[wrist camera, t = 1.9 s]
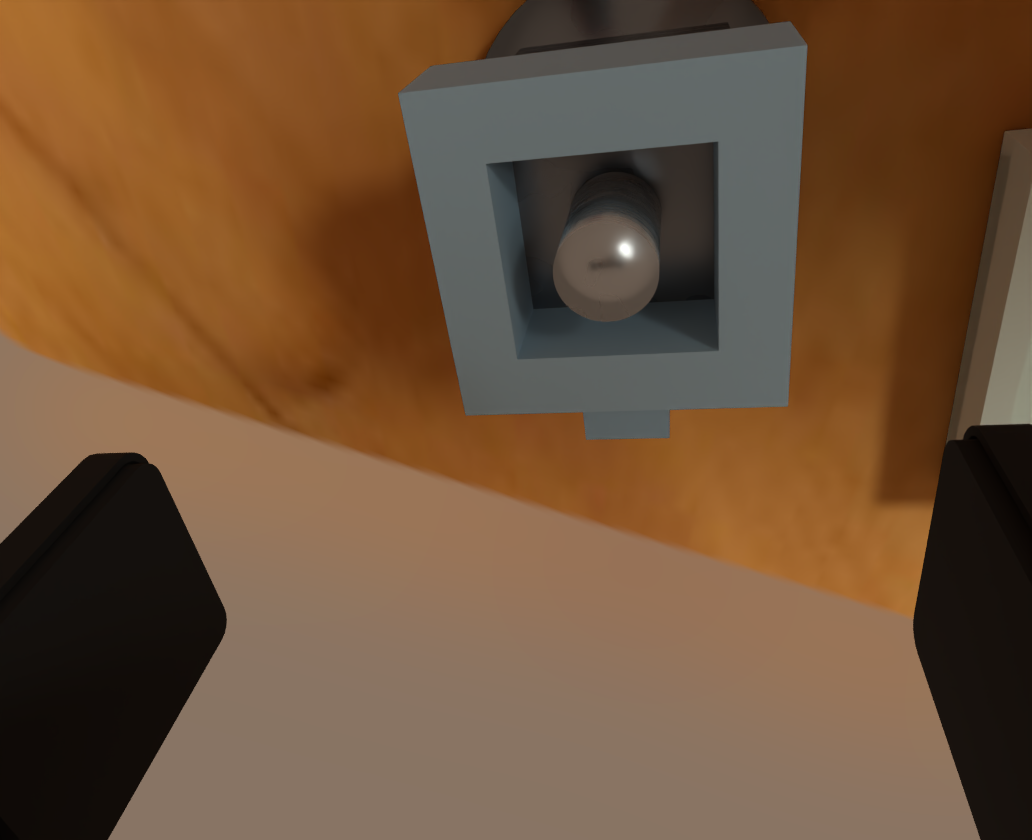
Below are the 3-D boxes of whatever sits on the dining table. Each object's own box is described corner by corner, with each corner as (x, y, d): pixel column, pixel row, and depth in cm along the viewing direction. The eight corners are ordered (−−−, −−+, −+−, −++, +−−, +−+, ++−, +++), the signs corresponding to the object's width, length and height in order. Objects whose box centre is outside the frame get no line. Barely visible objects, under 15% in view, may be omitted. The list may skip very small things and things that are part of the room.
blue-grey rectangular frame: (790, 21, 15) (807, 44, 13) (773, 406, 20) (784, 467, 18) (430, 65, 16) (398, 93, 14) (495, 415, 21) (477, 470, 19)
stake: (801, -74, 20) (889, -30, 12) (785, 265, 25) (839, 460, 17) (452, -23, 22) (319, 46, 14) (501, 283, 27) (426, 466, 19)
